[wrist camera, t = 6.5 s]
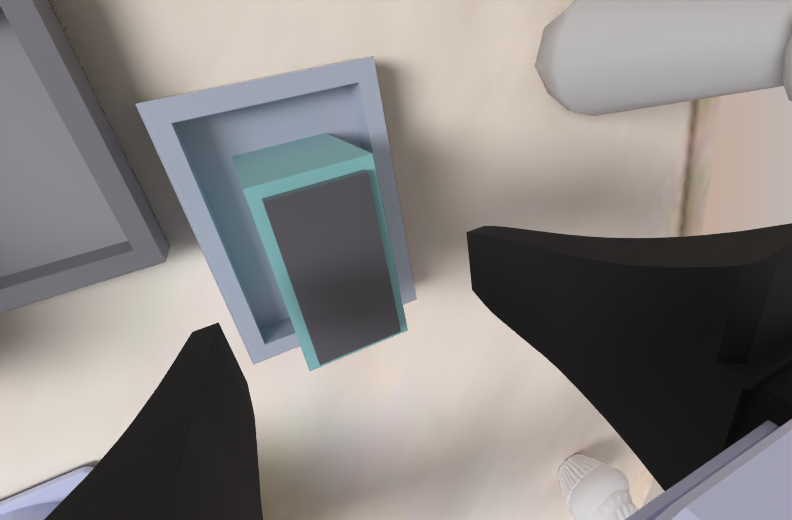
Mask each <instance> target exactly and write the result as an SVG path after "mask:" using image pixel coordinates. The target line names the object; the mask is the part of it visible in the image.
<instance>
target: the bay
mask: <svg viewBox="0 0 792 520" xmlns="http://www.w3.org/2000/svg"><path fill="white" fill-rule="evenodd" d="M168 249H169V243H168V241H167V239H166V237H165V235H164V233H163V231H162V229H161V227H160V225H159V223H158V221H157V219H156V217H155V215H154V213H153V211H152V209H151V207H150V205H149V203H148V201H147V199H146V197H145V195H144V193H143V191H142V189H141V187H140V185H139V183H138V181H137V178H136V176H135V174H134V172H133V170H132V168H131V166H130V164H129V162H128V160H127V158H126V156H125V154H124V152H123V150H122V148H121V146H120V144H119V142H118V140H117V138H116V136H115V134H114V132H113V130H112V128H111V126H110V124H109V122H108V120H107V118H106V116H105V114H104V112H103V110H102V108H101V106H100V103H99V101H98V99H97V97H96V95H95V93H94V91H93V89H92V87H91V85H90V83H89V81H88V79H87V77H86V75H85V73H84V71H83V69H82V67H81V65H80V63H79V61H78V59H77V57H76V55H75V53H74V51H73V49H72V47H71V45H70V43H69V41H68V39H67V37H66V35H65V33H64V31H63V29H62V26H61V24H60V22H59V20H58V18H57V16H56V14H55V12H54V10H53V8H52V6H51V4H50V2H49V0H0V313H1V312H4V311H8V310H11V309H14V308H17V307H21V306H24V305H27V304H30V303H34V302H37V301H40V300H43V299H47V298H50V297H53V296H56V295H60V294H63V293H66V292H69V291H72V290H76V289H79V288H82V287H85V286H89V285H92V284H95V283H98V282H102V281H105V280H108V279H111V278H115V277H118V276H121V275H124V274H128V273H131V272H134V271H137V270H140V269H144V268H147V267H150V266H153V265H157V264H160V263H163V262H165V261H166V257H167V253H168Z"/></svg>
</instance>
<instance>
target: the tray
mask: <svg viewBox="0 0 792 520" xmlns="http://www.w3.org/2000/svg"><path fill="white" fill-rule="evenodd" d="M135 105H136V107H137V109H138V111H139V113H140V116H141V118H142V120H143V122H144V124H145V127H146V129H147V131H148V133H149V135H150V138H151V140H152V142H153V144H154V146H155V149H156V151H157V153H158V155H159V157H160V160H161V162H162V164H163V166H164V168H165V171H166V173H167V175H168V177H169V179H170V182H171V184H172V186H173V188H174V191H175V193H176V195H177V197H178V199H179V202H180V204H181V206H182V208H183V210H184V213H185V215H186V217H187V219H188V221H189V224H190V226H191V228H192V230H193V232H194V235H195V237H196V239H197V241H198V243H199V246H200V248H201V250H202V252H203V254H204V257H205V259H206V261H207V263H208V265H209V268H210V270H211V272H212V274H213V276H214V279H215V281H216V283H217V285H218V287H219V290H220V292H221V294H222V296H223V299H224V301H225V303H226V305H227V307H228V310H229V312H230V314H231V316H232V318H233V321H234V323H235V325H236V327H237V329H238V332H239V334H240V336H241V338H242V340H243V343H244V345H245V347H246V349H247V351H248V354H249V356H250V358H251V360H252V362H253V365H254V364H256V363H259V362H261V361H264V360H266V359H269V358H271V357H274V356H276V355H279V354H281V353H284V352H286V351H289V350H291V349H294V348H296V347H299V346H300V343H299V340H298V338H297V335H296V332H295V330H294V327H293V324H292V321H291V319H290V316H289V313H288V311H287V308H286V305H285V302H284V300H283V297H282V294H281V292H280V289H279V286H278V284H277V281H276V278H275V275H274V273H273V270H272V267H271V265H270V262H269V259H268V256H267V254H266V251H265V248H264V246H263V243H262V240H261V237H260V235H259V232H258V229H257V227H256V224H255V221H254V218H253V216H252V213H251V210H250V208H249V205H248V202H247V199H246V197H245V194H244V191H243V188H242V185H241V182H240V179H239V176H238V173H237V170H236V167H235V163H234V160H233V157H232V156H236V155H240V154H244V153H248V152H252V151H256V150H260V149H263V148H267V147H271V146H275V145H279V144H283V143H287V142H291V141H295V140H299V139H303V138H307V137H311V136H315V135H319V134H323V133H326V134H329V135H331V136H333V137H335V138H338V139H340V140H342V141H345V142H347V143H349V144H352V145H354V146H356V147H358V148H361V149H363V150H365V151H368V152H370V153H372V154H373V158H374V163H375V168H376V173H377V178H378V183H379V188H380V193H381V198H382V203H383V208H384V213H385V218H386V223H387V228H388V233H389V238H390V243H391V248H392V253H393V258H394V263H395V269H396V274H397V279H398V284H399V289H400V294H401V299H402V304H403V305H404V304H406V303H409V302H411V301H414V300H416V299H417V298H416V293H415V287H414V281H413V276H412V270H411V264H410V259H409V253H408V247H407V242H406V236H405V231H404V225H403V219H402V214H401V208H400V202H399V197H398V191H397V185H396V180H395V174H394V169H393V163H392V157H391V152H390V146H389V140H388V135H387V129H386V124H385V118H384V112H383V107H382V101H381V95H380V90H379V84H378V78H377V73H376V67H375V62H374V56H371V57H365V58H359V59H353V60H348V61H343V62H338V63H333V64H328V65H323V66H318V67H313V68H308V69H303V70H298V71H293V72H288V73H283V74H278V75H273V76H268V77H263V78H258V79H253V80H248V81H243V82H238V83H233V84H228V85H223V86H218V87H214V88H209V89H204V90H199V91H194V92H189V93H184V94H179V95H174V96H169V97H164V98H159V99H154V100H149V101H144V102H140V103H137V104H135Z"/></svg>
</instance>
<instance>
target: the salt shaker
mask: <svg viewBox="0 0 792 520" xmlns="http://www.w3.org/2000/svg"><path fill="white" fill-rule="evenodd" d="M535 67H536V69H537V71H538V73H539V75H540V77H541V79H542V81H543V83H544V85H545V88H546V90H547V92H548V94H550V95H551V96H552V97H553V98H554V99H556V100H557V101H558V102H559V103H560V104H561V105H563V106H564V107H565V108H566V109H567V110H570V111H573V112H576V113H581V114H586V115H592V116H596V115H602V114H608V113H615V112H621V111H627V110H634V109H640V108H646V107H653V106H659V105H666V104H672V103H678V102H685V101H691V100H697V99H704V98H710V97H716V96H723V95H728V94H735V93H741V92H748V91H754V90H760V89H767V88H773V87H779V86H784V87H785V89H786V92H787V95H788V98H789V100H791V101H792V0H575V1H574V2H573V3H572V4H571V5H570V6H569V7H568V8H567V9H566V10H565V11H564V12H563V13H562V14H560V15H559V16H558V17H557V18H556V19H554V20H553V21H552V22H551V23H549V24H548V25H547V26H546V27H545V28H544V32H543V36H542V40H541V44H540V48H539V52H538V56H537V60H536V63H535Z"/></svg>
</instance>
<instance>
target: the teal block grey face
mask: <svg viewBox="0 0 792 520" xmlns="http://www.w3.org/2000/svg"><path fill="white" fill-rule="evenodd" d="M232 157H233V160H234V163H235V167H236V170H237V173H238V176H239V179H240V182H241V185H242V188H243V191H244V194H245V197H246V199H247V202H248V205H249V208H250V210H251V213H252V216H253V218H254V221H255V224H256V227H257V229H258V232H259V235H260V237H261V240H262V243H263V246H264V248H265V251H266V254H267V256H268V259H269V262H270V265H271V267H272V270H273V273H274V275H275V278H276V281H277V284H278V286H279V289H280V292H281V294H282V297H283V300H284V302H285V305H286V308H287V311H288V313H289V316H290V319H291V321H292V324H293V327H294V330H295V332H296V335H297V338H298V340H299V343H300V346H301V349H302V351H303V354H304V357H305V359H306V362H307V365H308V368H309V370H310V371H312V370H314V369H317V368H319V367H322V366H324V365H326V364H329V363H331V362H333V361H336V360H338V359H341V358H343V357H345V356H348V355H350V354H352V353H355V352H357V351H360V350H362V349H364V348H367V347H369V346H371V345H374V344H376V343H379V342H381V341H383V340H386V339H388V338H390V337H393V336H395V335H397V334H400V333H402V332H405V331H407V330H408V329H407V324H406V319H405V314H404V309H403V304H402V299H401V294H400V289H399V284H398V279H397V274H396V269H395V263H394V258H393V253H392V248H391V243H390V238H389V233H388V228H387V223H386V218H385V213H384V208H383V203H382V198H381V193H380V188H379V183H378V178H377V173H376V168H375V163H374V158H373V154H372V153H370V152H368V151H365V150H363V149H361V148H358V147H356V146H354V145H352V144H349V143H347V142H345V141H342V140H340V139H338V138H335V137H333V136H331V135H329V134H326V133H323V134H319V135H315V136H311V137H307V138H303V139H299V140H295V141H291V142H287V143H283V144H279V145H275V146H271V147H267V148H263V149H260V150H256V151H252V152H248V153H244V154H240V155H236V156H232Z"/></svg>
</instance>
